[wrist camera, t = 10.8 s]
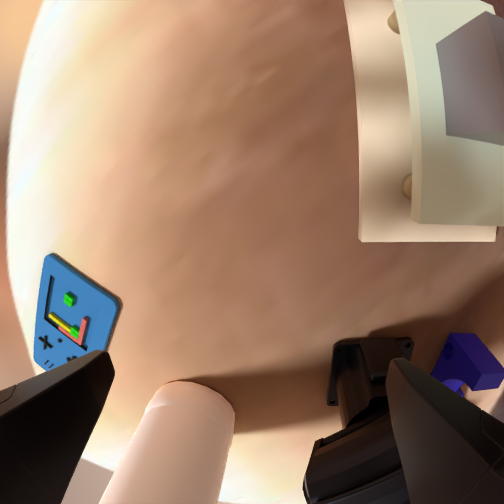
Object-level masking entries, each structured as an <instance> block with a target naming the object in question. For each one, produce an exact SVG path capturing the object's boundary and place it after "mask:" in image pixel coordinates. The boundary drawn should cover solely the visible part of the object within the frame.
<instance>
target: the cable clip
mask: <svg viewBox="0 0 504 504" xmlns="http://www.w3.org/2000/svg"><path fill="white" fill-rule="evenodd" d="M431 376H432V377H434V378H435V379H437V380H438V381H440V382H441V383H443V384H444V385H446V386H447V387H449V388H450V389H452V390H453V391H455V392H456V393H458V394H459V395H461V396H462V397H464V393H463V392H462V390H461V388H460V386H461V385H462V384H464V383H466V384H467V385H468V386H469V387H470V389H471V390H472V391H479V390H487V389H495V388H498V387H499V386H500V384H501V382H502V381H503V379H504V368H503V366H502V365H501V364H500V363H499V361H498V360H497V359H496V358H495V357H494V355H493V354H492V353H491V352H490V351H489V350H488V348H487V347H486V346H485V345H484V344H483V343H482V341H481V340H480V339H479V338H478V337H477V336H476V335H475V334H467V333H450V334H449V337H448V339H447V341H446V343H445V346H444V348H443V350H442V352H441V355H440V357H439V359H438V361H437V363H436V365H435V367H434V369H433V371H432V373H431Z"/></svg>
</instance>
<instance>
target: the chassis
mask: <svg viewBox="0 0 504 504" xmlns="http://www.w3.org/2000/svg"><path fill="white" fill-rule="evenodd" d="M344 5H345V11H346V17H347V23H348V30H349V36H350V44H351V52H352V60H353V69H354V79H355V90H356V102H357V118H358V138H359V232H358V238H359V239H360V241H361V242H495V237H496V229H497V226H476V225H437V224H418V223H417V222H415V221H413V220H411V203H412V135H411V117H410V103H409V93H408V83H407V75H406V67H405V60H404V53H403V47H402V41H401V36H400V30H399V25H398V21H397V16H396V11H395V7H394V3H393V0H344Z"/></svg>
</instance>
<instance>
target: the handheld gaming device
mask: <svg viewBox="0 0 504 504" xmlns="http://www.w3.org/2000/svg"><path fill="white" fill-rule="evenodd" d="M118 310H119V303H118V301H117V299H116V298H115V297H113V296H112V295H110V294H109V293H107V292H106V291H104V290H103V289H101V288H100V287H98V286H97V285H95V284H94V283H92V282H91V281H90V280H88V279H87V278H85V277H84V276H82V275H81V274H80V273H78V272H77V271H75V270H74V269H73V268H71V267H70V266H69V265H67V264H66V263H64V262H63V261H62V260H60V259H59V258H58V257H56V256H55V255H53V254H49V255H47V256H46V257H45V259H44V263H43V269H42V275H41V282H40V288H39V296H38V304H37V313H36V324H35V337H34V361H35V362H36V363H37V364H38V365H39V366H41V367H42V368H43V369H44V370H46V371H49V370H51V369H53V368H56V367H58V366H60V365H63V364H65V363H67V362H69V361H72V360H74V359H76V358H78V357H81V356H83V355H85V354H87V353H90V352H92V351H94V350H104V351H105V350H106V347H107V343H108V340H109V337H110V334H111V331H112V328H113V325H114V322H115V319H116V316H117V313H118Z"/></svg>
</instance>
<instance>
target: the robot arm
mask: <svg viewBox="0 0 504 504" xmlns="http://www.w3.org/2000/svg"><path fill="white" fill-rule="evenodd" d="M407 343H409V344H408V345H406V344H407ZM413 346H414V342H413V340H412V338H410V337H403V338H382V339H368V340H362V341H346V342H337V343H335V344H334V346H333V351H332V360H331V368H330V376H329V384H328V391H327V398H326V400H327V405H329V406H339V409H340V416H341V422H342V429H343V430H341V431H339V432H337V433H335V434H332V435H330V436H328V437H326V438H321V439H319V440H317V441H315V443H314V447H313V450H312V454H311V457H310V460H309V464H308V467H307V470H306V473H305V476H304V481H303V491H304V496H305V499H306V502H307V504H504V423H502V422H501V421H499V420H498V419H496V418H494V417H493V416H491V415H490V414H488V413H487V412H485V411H484V410H481V409H480V408H479V407H477V406H476V405H474V404H473V403H471V402H470V401H468V400H467V399H465V398H464V397H462V396H461V395H459V394H458V393H456V392H455V391H453V390H452V389H450V388H449V387H447V386H446V385H444V384H443V383H441V382H440V381H438V380H437V379H435V378H434V377H432V376H431V375H429V374H428V373H426V372H425V371H423V370H422V369H420V368H419V367H417V366H416V365H414V364H413V363H411V362H410V357H411V354H412V350H413ZM340 347H341V348H342V349H341V350H337V349H338V348H340ZM114 376H115V370H114V367H113V364H112V361H111V358H110V355H109V353H108V352H107V351H104V350H94V351H92V352H90V353H87V354H85V355H83V356H81V357H78V358H76V359H74V360H72V361H69V362H67V363H65V364H63V365H60V366H58V367H56V368H53V369H51V370H49V371H46V372H44V373H42V374H39V375H37V376H35V377H32V378H30V379H28V380H25V381H23V382H21V383H18V384H17V385H13V386H11V387H9V388H6V389H4V390H1V391H0V504H61V502H62V500H63V497H64V495H65V492H66V490H67V488H68V485H69V483H70V481H71V478H72V476H73V473H74V471H75V469H76V467H77V464H78V462H79V460H80V457H81V455H82V453H83V451H84V449H85V446H86V444H87V442H88V440H89V438H90V435H91V433H92V431H93V429H94V427H95V425H96V423H97V421H98V418H99V416H100V414H101V412H102V409H103V407H104V404H105V401H106V398H107V396H108V393H109V390H110V387H111V385H112V382H113V379H114ZM331 400H334V401H331Z"/></svg>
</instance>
